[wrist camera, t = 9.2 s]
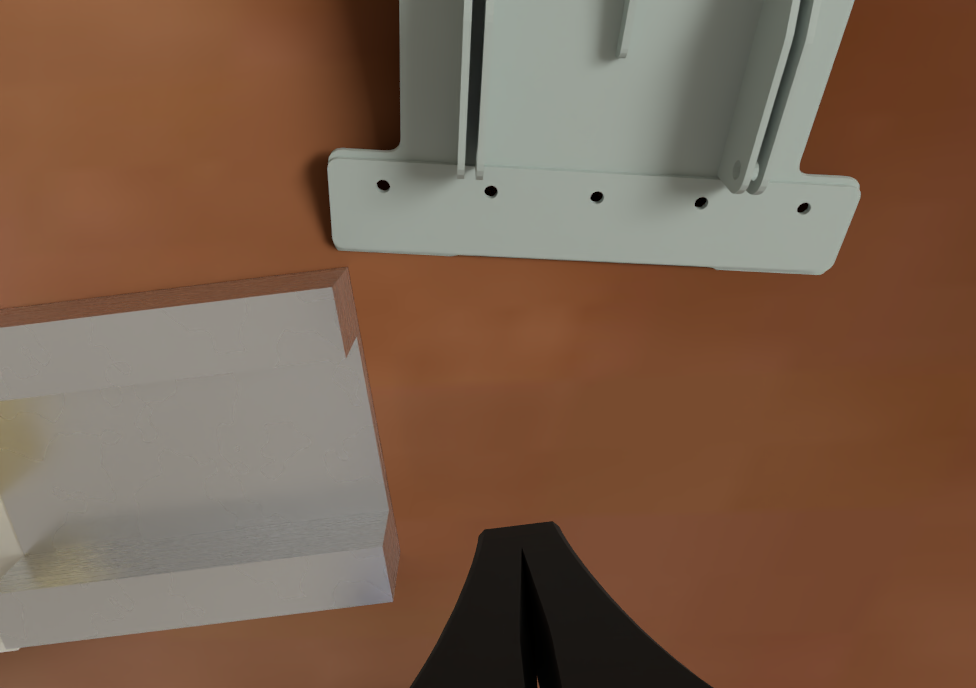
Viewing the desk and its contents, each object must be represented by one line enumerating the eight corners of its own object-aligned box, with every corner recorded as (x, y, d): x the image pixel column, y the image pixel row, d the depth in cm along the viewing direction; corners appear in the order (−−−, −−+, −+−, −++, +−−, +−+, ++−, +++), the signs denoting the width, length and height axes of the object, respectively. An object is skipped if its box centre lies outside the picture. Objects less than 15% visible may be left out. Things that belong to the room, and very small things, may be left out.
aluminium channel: (400, 550, 23) (393, 601, 21) (53, 593, 23) (5, 649, 21) (347, 266, 20) (331, 287, 18) (-53, 316, 20) (-125, 343, 18)
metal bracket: (263, -425, 11) (1133, -338, 12) (325, -335, 16) (942, -277, 17) (326, 315, 19) (838, 337, 20) (355, 227, 24) (767, 248, 25)
